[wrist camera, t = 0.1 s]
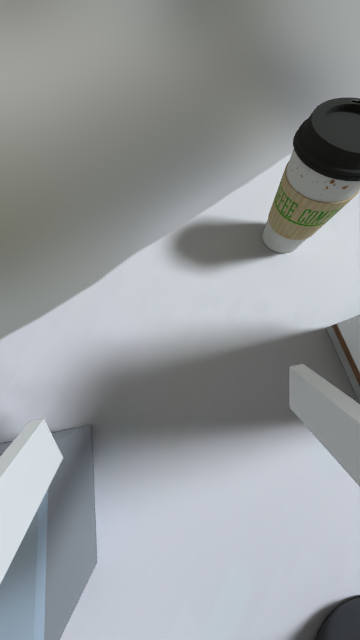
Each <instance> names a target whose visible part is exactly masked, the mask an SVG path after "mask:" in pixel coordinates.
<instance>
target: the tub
mask: <svg viewBox="0 0 360 640" xmlns="http://www.w3.org/2000/svg"><path fill="white" fill-rule="evenodd" d="M51 434H52V436H53V438H54V440H55V442H56V444H57V446H58V448H59V450H60V452H61V454H62V456H63V459H62V461H61V463H60V465H59V467H58V469H57V471H56V473H55V475H54V477H53V479H52V481H51V483H50V485H49V487H48V511H47V550H46V589H45V627H44V640H60V638H61V636H62V634H63V632H64V629H65V627H66V625H67V623H68V621H69V619H70V617H71V615H72V613H73V611H74V609H75V607H76V605H77V603H78V601H79V599H80V596H81V594H82V592H83V590H84V588H85V586H86V584H87V582H88V580H89V578H90V576H91V574H92V572H93V570H94V568H95V565H96V563H97V546H96V521H95V496H94V471H93V446H92V425H88V426H83V427H78V428H73V429H69V430H64V431H59V432H54V433H51ZM12 442H13V441H10V442H6V443H1V444H0V455H2V454H3V453H4V452H5V450H6V449H7V448H8V447H9V446H10V444H11V443H12Z"/></svg>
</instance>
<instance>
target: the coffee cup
mask: <svg viewBox="0 0 360 640" xmlns="http://www.w3.org/2000/svg"><path fill="white" fill-rule="evenodd" d="M293 146H294V150H293V153H292V155H291V158H290V161H289V162H288V163H287V166H286V168H285V171H284V174H283V176H282V179H281V182H280V185H279V188H278V190H277V193H276V196H275V199H274V202H273V204H272V207H271V210H270V213H269V217H268V221H267V223H266V226H265V229H264V232H263V241H264V243H265V245H266V246H267V247H268V248H270V249H271V250H273V251H275V252H278V253H289V252H292V251H294V250H295V249H296V248H297V247H299V246H300V245H301V244H302V243H303V242H304V241H305V240H306V239H307V238H309V237H310V236H312V235H313V234H314V233H315V232H316V231H317V230H318V229H320V228H321V227H322V226H323V225H324V224H325V223H326V222H327V221H328V220H329V219H331V218H332V217H333V216H334V215H335V214H336V213H337V212H338V211H339V210H340V209H341V208H343V207H344V206H345V205H346V204H347V203H348V202H349V201H350V200H351V199H352V198H354V197H355V196H356V195H357V194H358V192H359V190H360V99H358V98H337V99H332V100H328V101H326V102H324V103H322V104H320V105H319V106H317V108H316V109H315V110H314V111H313V113H312V114H311V116H310V117H309V118H308V119H307V120H305V121H304V122H303V124H302V125H301V126H300V127H299V129H298V131H297V132H296V134H295V136H294V140H293Z"/></svg>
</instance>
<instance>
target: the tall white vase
mask: <svg viewBox="0 0 360 640" xmlns="http://www.w3.org/2000/svg"><path fill="white" fill-rule="evenodd" d="M326 329H327V332H328V334H329V336H330V338H331V341H332V343H333V345H334V347H335V350H336V352H337V354H338V356H339V359H340V361H341V363H342V365H343V368H344V370H345V372H346V374H347V376H348V379H349V381H350V383H351V385H352V388H353V390H354V392H355V394H356V397H357V399H358V401H359V403H360V315H358V316H355V317H353V318H350V319H348V320H345V321H343V322H340V323H337V324H335V325H332V326H330V327H327V328H326Z"/></svg>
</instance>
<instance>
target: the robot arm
mask: <svg viewBox="0 0 360 640" xmlns="http://www.w3.org/2000/svg"><path fill="white" fill-rule="evenodd" d="M289 407H290V409H291V410H292V411H293V412H294V413H295V414H296V415H297V416H298V418H299V419H300V420H301V421H302V422H303V423H304V424H305V425H306V427H307V428H308V429H309V430H310V431H311V432H312V433H313V434H314V436H315V437H316V438H317V439H318V440H319V441H320V442H321V444H322V445H323V446H324V447H325V448H326V449H327V450H328V451H329V453H330V454H331V455H332V456H333V457H334V458H335V459H336V460H337V462H338V463H339V464H340V465H341V466H342V467H343V468H344V469H345V471H346V472H347V473H348V474H349V475H350V476H351V477H352V479H353V480H354V481H355V482H356V483H357V484H358V485H359V486H360V404H359V403H357V402H356V401H355V400H353V399H352V398H350V397H349V396H348V395H346V394H345V393H343V392H342V391H341V390H339V389H338V388H336V387H335V386H334V385H332V384H331V383H329V382H328V381H327V380H325V379H324V378H322V377H321V376H320V375H318V374H317V373H315V372H314V371H313V370H311V369H310V368H308V367H307V366H306V365H304V364H299V365H294V366H289ZM62 459H63V456H62V454H61V452H60V450H59V448H58V446H57V444H56V442H55V440H54V438H53V436H52V434H51V432H50V430H49V428H48V426H47V424H46V422H45V420H44V419H41V420H36V421H32V422H28V424H27V425H26V426H25V427H24V429H23V430H22V431H21V432H20V433H19V435H18V436H17V437H16V438H15V439H14V441H13V442H12V443H11V444H10V446H9V447H8V448H7V449H6V450H5V452H4V453H3V454H2V455H1V456H0V584H1V582H2V580H3V578H4V576H5V574H6V572H7V570H8V568H9V566H10V564H11V562H12V560H13V558H14V556H15V554H16V552H17V550H18V548H19V546H20V544H21V542H22V540H23V538H24V536H25V534H26V532H27V530H28V528H29V526H30V523H31V521H32V519H33V517H34V515H35V513H36V511H37V509H38V507H39V505H40V503H41V501H42V499H43V497H44V495H45V493H46V491H47V489H48V487H49V485H50V483H51V481H52V479H53V477H54V475H55V473H56V471H57V469H58V467H59V465H60V463H61V461H62ZM316 640H360V598H355V599H352V600H350V601H348V602H346V603H344V604H342V605H341V606H339V607H338V608H337V609H336V610H335V611H333V612H332V613H331V615H330V616H329V617H328V618H327V620H326V621H325V622H324V624H323V626H322V627H321V629H320V631H319V633H318V635H317V638H316Z"/></svg>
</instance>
